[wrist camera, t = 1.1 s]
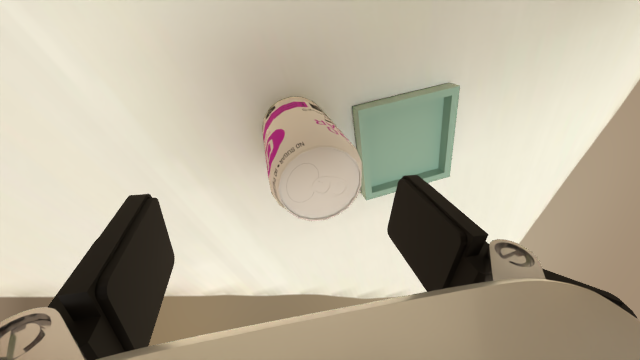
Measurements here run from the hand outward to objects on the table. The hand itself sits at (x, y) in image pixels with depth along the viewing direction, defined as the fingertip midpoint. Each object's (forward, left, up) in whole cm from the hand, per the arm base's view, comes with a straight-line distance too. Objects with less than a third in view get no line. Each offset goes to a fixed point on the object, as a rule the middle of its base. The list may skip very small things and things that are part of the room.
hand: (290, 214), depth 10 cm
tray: (-18, +11, -24) cm, 32 cm away
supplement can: (-3, +5, -25) cm, 25 cm away
